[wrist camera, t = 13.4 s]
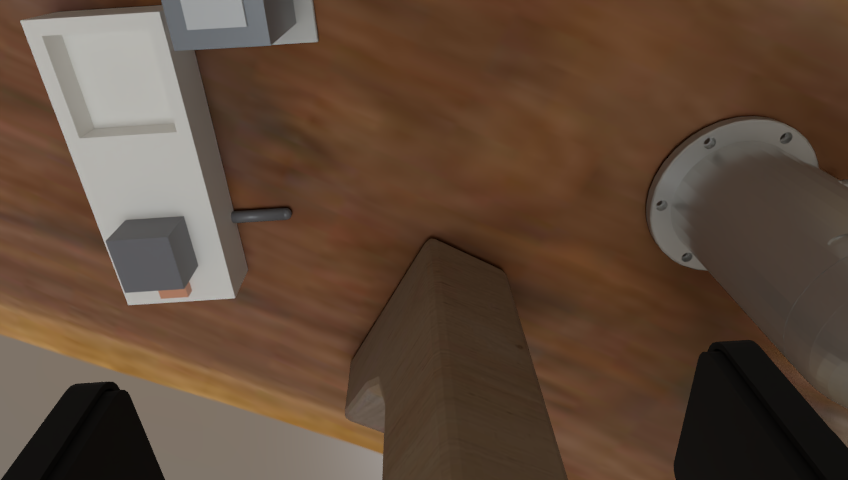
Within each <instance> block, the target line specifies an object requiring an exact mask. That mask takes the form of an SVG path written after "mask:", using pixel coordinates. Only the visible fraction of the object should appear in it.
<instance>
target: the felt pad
mask: <svg viewBox="0 0 848 480" xmlns="http://www.w3.org/2000/svg"><path fill="white" fill-rule="evenodd" d="M293 3H294V10H295V17H296V24H295V25H294V26H293V27H292V28H290V29H289V30H288V31H287V32H286V33H285V34H284V35H282V36H281V37H280V38H279V39H278V40H277V41H275V42H274V43H273V44H272V45H277V44H293V43H309V42H318V41H319V39H318V32H317V25H316V18H315V11H314V4H313V0H293Z"/></svg>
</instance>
